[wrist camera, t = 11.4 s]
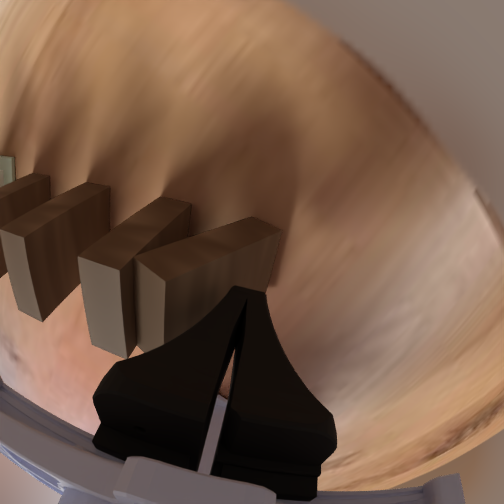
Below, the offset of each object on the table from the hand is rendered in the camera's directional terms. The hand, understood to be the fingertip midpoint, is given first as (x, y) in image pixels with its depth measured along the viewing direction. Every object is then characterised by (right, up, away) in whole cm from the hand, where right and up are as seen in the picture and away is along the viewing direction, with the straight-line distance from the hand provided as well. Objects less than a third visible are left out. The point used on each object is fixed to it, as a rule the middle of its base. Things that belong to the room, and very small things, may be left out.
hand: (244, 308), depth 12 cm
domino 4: (+1, +2, +4) cm, 4 cm away
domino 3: (-4, +3, +4) cm, 7 cm away
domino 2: (-9, +4, +4) cm, 11 cm away
